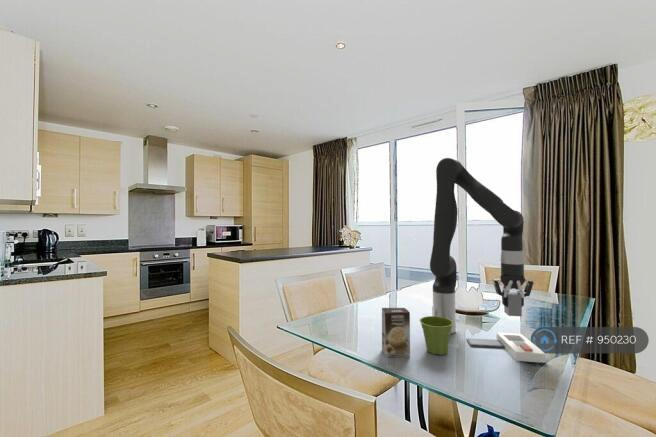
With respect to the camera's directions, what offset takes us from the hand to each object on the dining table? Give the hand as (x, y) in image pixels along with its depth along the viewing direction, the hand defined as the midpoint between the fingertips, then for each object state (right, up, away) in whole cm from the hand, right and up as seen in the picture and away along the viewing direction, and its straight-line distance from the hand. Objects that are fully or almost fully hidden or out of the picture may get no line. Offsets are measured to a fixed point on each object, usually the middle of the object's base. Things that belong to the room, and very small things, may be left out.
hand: (513, 306), depth 114 cm
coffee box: (-46, -16, -4) cm, 49 cm away
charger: (0, -3, 0) cm, 3 cm away
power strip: (0, -15, -3) cm, 16 cm away
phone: (-10, -15, +2) cm, 18 cm away
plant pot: (-30, -16, -3) cm, 34 cm away
